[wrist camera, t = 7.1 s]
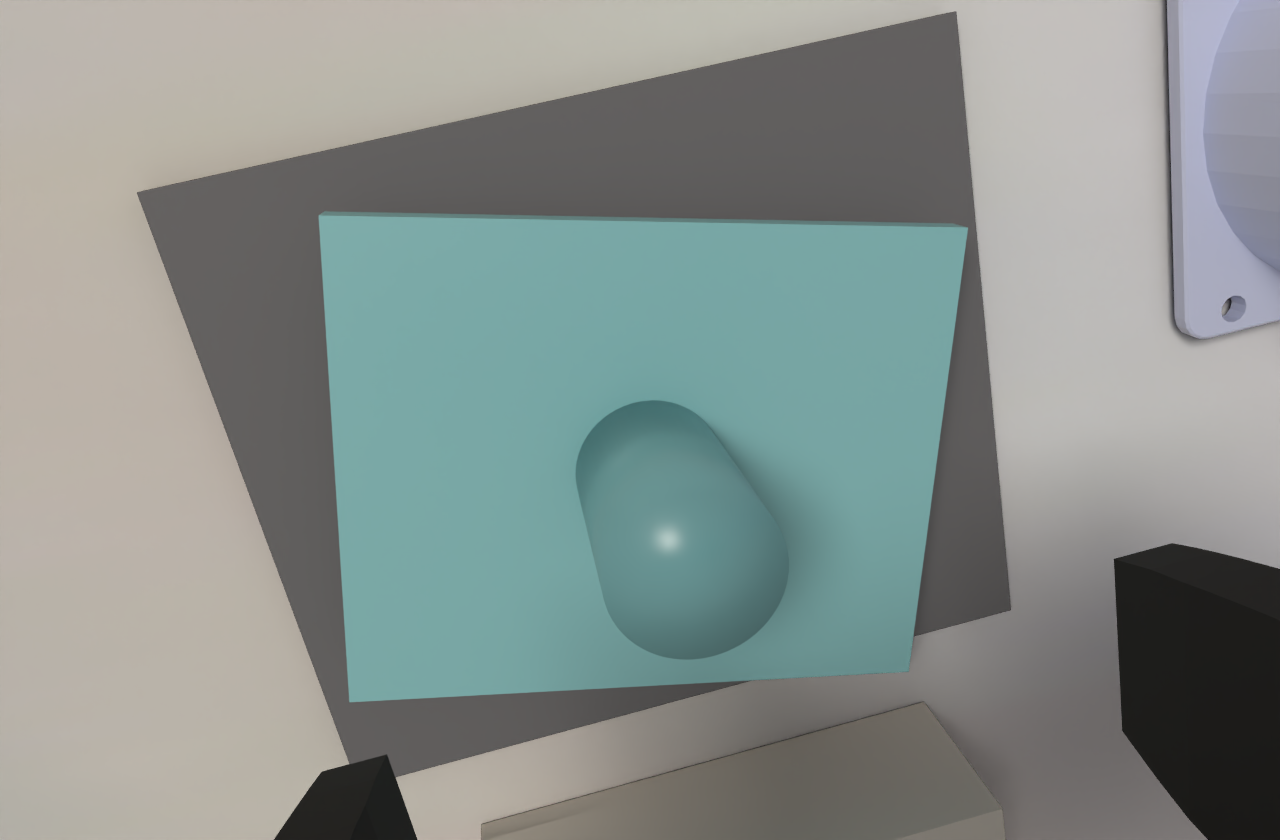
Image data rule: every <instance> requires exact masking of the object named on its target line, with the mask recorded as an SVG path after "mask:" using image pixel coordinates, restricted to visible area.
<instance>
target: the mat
mask: <svg viewBox="0 0 1280 840" xmlns="http://www.w3.org/2000/svg"><path fill="white" fill-rule="evenodd" d="M137 194H138V197H139V200H140V202H141V205H142V208H143V210H144V213H145V216H146V219H147V221H148V224H149V227H150V229H151V232H152V235H153V237H154V240H155V243H156V245H157V248H158V251H159V253H160V256H161V259H162V261H163V264H164V267H165V270H166V272H167V275H168V278H169V280H170V283H171V286H172V288H173V291H174V294H175V296H176V299H177V302H178V304H179V307H180V310H181V312H182V315H183V318H184V320H185V323H186V326H187V329H188V331H189V334H190V337H191V339H192V342H193V345H194V347H195V350H196V353H197V355H198V358H199V361H200V363H201V366H202V369H203V371H204V374H205V377H206V380H207V382H208V385H209V388H210V390H211V393H212V396H213V398H214V401H215V404H216V406H217V409H218V412H219V414H220V417H221V420H222V422H223V425H224V428H225V431H226V433H227V436H228V439H229V441H230V444H231V447H232V449H233V452H234V455H235V457H236V460H237V463H238V465H239V468H240V471H241V473H242V476H243V479H244V482H245V484H246V487H247V490H248V492H249V495H250V498H251V500H252V503H253V506H254V508H255V511H256V514H257V516H258V519H259V522H260V524H261V527H262V530H263V533H264V535H265V538H266V541H267V543H268V546H269V549H270V551H271V554H272V557H273V559H274V562H275V565H276V567H277V570H278V573H279V575H280V578H281V581H282V583H283V586H284V589H285V592H286V594H287V597H288V600H289V602H290V605H291V608H292V610H293V613H294V616H295V618H296V621H297V624H298V626H299V629H300V632H301V634H302V637H303V640H304V643H305V645H306V648H307V651H308V653H309V656H310V659H311V661H312V664H313V667H314V669H315V672H316V675H317V677H318V680H319V683H320V685H321V688H322V691H323V694H324V696H325V699H326V702H327V704H328V707H329V710H330V712H331V715H332V718H333V720H334V723H335V726H336V728H337V731H338V734H339V736H340V739H341V742H342V745H343V747H344V750H345V753H346V755H347V758H348V761H349V763H350V764H353V763H356V762H360V761H364V760H367V759H371V758H375V757H379V756H382V755H386V754H387V756H388V758H389V761H390V764H391V767H392V770H393V772H394V775H395V777H398V776H402V775H405V774H409V773H413V772H416V771H420V770H424V769H427V768H431V767H435V766H438V765H442V764H446V763H449V762H453V761H457V760H460V759H464V758H468V757H472V756H475V755H479V754H483V753H486V752H490V751H494V750H497V749H501V748H505V747H508V746H512V745H516V744H519V743H523V742H527V741H530V740H534V739H538V738H541V737H545V736H549V735H553V734H556V733H560V732H564V731H567V730H571V729H575V728H578V727H582V726H586V725H589V724H593V723H597V722H600V721H604V720H608V719H611V718H615V717H619V716H623V715H626V714H630V713H634V712H637V711H641V710H645V709H648V708H652V707H656V706H659V705H663V704H667V703H670V702H674V701H678V700H681V699H685V698H689V697H692V696H696V695H700V694H704V693H707V692H711V691H715V690H718V689H722V688H726V687H729V686H733V685H737V684H740V683H744V682H748V681H731V682H712V683H694V684H676V685H658V686H639V687H621V688H603V689H584V690H566V691H548V692H529V693H511V694H493V695H475V696H456V697H438V698H420V699H401V700H383V701H365V702H349V689H348V673H347V657H346V641H345V625H344V610H343V594H342V578H341V562H340V546H339V531H338V515H337V499H336V483H335V467H334V452H333V436H332V420H331V404H330V388H329V373H328V357H327V341H326V325H325V309H324V294H323V278H322V262H321V246H320V230H319V215H320V214H321V213H323V212H324V211H330V212H382V213H434V214H486V215H538V216H590V217H642V218H694V219H746V220H798V221H850V222H902V223H952V224H956V225H960V226H964V227H968V232H967V239H966V247H965V254H964V262H963V269H962V277H961V284H960V292H959V299H958V307H957V314H956V322H955V329H954V336H953V344H952V351H951V359H950V366H949V374H948V381H947V389H946V396H945V404H944V411H943V419H942V426H941V433H940V441H939V448H938V456H937V463H936V471H935V478H934V486H933V493H932V501H931V508H930V516H929V523H928V530H927V538H926V545H925V553H924V560H923V568H922V575H921V583H920V590H919V598H918V605H917V613H916V620H915V627H914V635H913V636H917V635H921V634H924V633H928V632H932V631H936V630H939V629H943V628H947V627H950V626H954V625H958V624H961V623H965V622H969V621H972V620H976V619H980V618H983V617H987V616H991V615H994V614H998V613H1002V612H1006V611H1009V610H1011V606H1010V595H1009V584H1008V573H1007V562H1006V551H1005V540H1004V529H1003V518H1002V507H1001V496H1000V485H999V474H998V463H997V452H996V441H995V430H994V420H993V409H992V398H991V387H990V376H989V365H988V354H987V343H986V332H985V321H984V310H983V299H982V288H981V277H980V266H979V255H978V244H977V233H976V222H975V211H974V200H973V189H972V178H971V167H970V157H969V146H968V135H967V124H966V113H965V102H964V91H963V80H962V69H961V58H960V47H959V36H958V25H957V14H956V12H950V13H945V14H941V15H936V16H932V17H927V18H923V19H918V20H914V21H909V22H905V23H900V24H896V25H891V26H887V27H882V28H878V29H873V30H868V31H864V32H859V33H855V34H850V35H846V36H841V37H837V38H832V39H828V40H823V41H819V42H814V43H810V44H805V45H801V46H796V47H792V48H787V49H783V50H778V51H774V52H769V53H764V54H760V55H755V56H751V57H746V58H742V59H737V60H733V61H728V62H724V63H719V64H715V65H710V66H706V67H701V68H697V69H692V70H688V71H683V72H679V73H674V74H669V75H665V76H660V77H656V78H651V79H647V80H642V81H638V82H633V83H629V84H624V85H620V86H615V87H611V88H606V89H602V90H597V91H593V92H588V93H584V94H579V95H574V96H570V97H565V98H561V99H556V100H552V101H547V102H543V103H538V104H534V105H529V106H525V107H520V108H516V109H511V110H507V111H502V112H498V113H493V114H489V115H484V116H480V117H475V118H470V119H466V120H461V121H457V122H452V123H448V124H443V125H439V126H434V127H430V128H425V129H421V130H416V131H412V132H407V133H403V134H398V135H394V136H389V137H385V138H380V139H375V140H371V141H366V142H362V143H357V144H353V145H348V146H344V147H339V148H335V149H330V150H326V151H321V152H317V153H312V154H308V155H303V156H299V157H294V158H290V159H285V160H281V161H276V162H271V163H267V164H262V165H258V166H253V167H249V168H244V169H240V170H235V171H231V172H226V173H222V174H217V175H213V176H208V177H204V178H199V179H195V180H190V181H186V182H181V183H176V184H172V185H167V186H163V187H158V188H154V189H149V190H145V191H141V192H137ZM749 681H751V680H749Z"/></svg>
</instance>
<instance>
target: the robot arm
mask: <svg viewBox="0 0 1280 840" xmlns="http://www.w3.org/2000/svg"><path fill="white" fill-rule="evenodd" d="M1167 22H1168V63H1169V104H1170V145H1171V186H1172V227H1173V268H1174V310H1175V321H1176V325H1177V327H1178V328H1179V329H1180V331H1181V332H1182V333H1185V334H1187V335H1189V336H1192V337H1195V338H1198V339H1209V338H1213V337H1217V336H1221V335H1225V334H1229V333H1232V332H1236V331H1240V330H1244V329H1248V328H1252V327H1256V326H1260V325H1264V324H1268V323H1272V322H1276V321H1280V0H1167ZM1230 297H1231V300H1232V303H1231V308H1230V310H1229V311H1228V312H1227V314H1226V315H1224V316H1222V313H1221V310H1222V306H1223V304H1224V303H1225V301H1226V300H1227V299H1228V298H1230ZM1114 569H1115V589H1116V610H1117V630H1118V650H1119V671H1120V691H1121V711H1122V731H1123V732H1124V734H1125V735H1126V736H1127V738H1128V739H1129V741H1130V742H1131V743H1132V745H1133V746H1134V747H1135V749H1136V750H1137V752H1138V753H1139V754H1140V756H1141V757H1142V758H1143V760H1144V761H1145V762H1146V764H1147V765H1148V767H1149V768H1150V769H1151V771H1152V772H1153V773H1154V775H1155V776H1156V778H1157V779H1158V780H1159V781H1160V783H1161V784H1162V785H1163V787H1164V788H1165V789H1166V790H1167V792H1168V793H1169V794H1170V796H1171V797H1172V798H1173V799H1174V801H1175V802H1176V803H1177V804H1178V806H1179V807H1180V808H1181V810H1182V811H1183V812H1184V813H1185V815H1186V816H1187V817H1188V818H1189V820H1190V821H1191V822H1192V823H1193V824H1194V825H1195V826H1196V827H1197V828H1198V829H1199V830H1200V831H1201V833H1202V834H1203V835H1204V836H1205V837H1206V838H1207V839H1208V840H1280V569H1278V568H1274V567H1270V566H1267V565H1263V564H1259V563H1255V562H1252V561H1248V560H1244V559H1240V558H1236V557H1232V556H1228V555H1224V554H1220V553H1216V552H1212V551H1208V550H1203V549H1199V548H1194V547H1189V546H1183V545H1178V544H1168V545H1164V546H1161V547H1157V548H1153V549H1149V550H1146V551H1142V552H1138V553H1135V554H1131V555H1127V556H1123V557H1120V558H1116V559H1114ZM274 840H417V837H416V834H415V832H414V829H413V826H412V823H411V820H410V818H409V815H408V812H407V809H406V806H405V803H404V801H403V798H402V795H401V792H400V789H399V787H398V784H397V781H396V778H395V775H394V772H393V770H392V767H391V764H390V761H389V758H388V756H387V754H386V755H382V756H379V757H375V758H371V759H367V760H364V761H360V762H356V763H353V764H349V765H345V766H341V767H338V768H334V769H330V770H326V771H323V772H321V774H320V775H319V776H318V778H317V779H316V780H315V782H314V783H313V784H312V786H311V787H310V788H309V790H308V791H307V793H306V794H305V795H304V797H303V798H302V800H301V801H300V803H299V804H298V805H297V807H296V808H295V810H294V811H293V813H292V814H291V816H290V817H289V819H288V820H287V821H286V823H285V824H284V826H283V827H282V829H281V830H280V832H279V833H278V835H277V836H276V837H275V839H274Z"/></svg>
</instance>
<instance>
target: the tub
mask: <svg viewBox="0 0 1280 840" xmlns="http://www.w3.org/2000/svg"><path fill="white" fill-rule="evenodd" d="M481 840H1006V837H1005V828H1004V818H1003V809H1002V807H1001V806H1000V805H999V803H998V802H997V801H996V799H995V798H994V796H993V795H992V794H991V792H990V791H989V790H988V788H987V787H986V786H985V784H984V783H983V781H982V780H981V779H980V777H979V776H978V775H977V773H976V772H975V771H974V769H973V768H972V767H971V765H970V764H969V762H968V761H967V760H966V758H965V757H964V756H963V754H962V753H961V752H960V750H959V749H958V747H957V746H956V745H955V743H954V742H953V741H952V739H951V738H950V737H949V735H948V734H947V732H946V731H945V730H944V728H943V727H942V726H941V724H940V723H939V722H938V720H937V719H936V718H935V716H934V715H933V713H932V712H931V711H930V709H929V708H928V707H927V705H926V704H925V703H924V702H922V703H918V704H914V705H911V706H907V707H904V708H900V709H896V710H893V711H889V712H886V713H882V714H878V715H875V716H871V717H867V718H864V719H860V720H857V721H853V722H849V723H846V724H842V725H839V726H835V727H831V728H828V729H824V730H821V731H817V732H813V733H810V734H806V735H803V736H799V737H795V738H792V739H788V740H784V741H781V742H777V743H774V744H770V745H766V746H763V747H759V748H756V749H752V750H748V751H745V752H741V753H738V754H734V755H730V756H727V757H723V758H720V759H716V760H712V761H709V762H705V763H701V764H698V765H694V766H691V767H687V768H683V769H680V770H676V771H673V772H669V773H665V774H662V775H658V776H655V777H651V778H647V779H644V780H640V781H637V782H633V783H629V784H626V785H622V786H618V787H615V788H611V789H608V790H604V791H600V792H597V793H593V794H590V795H586V796H582V797H579V798H575V799H572V800H568V801H564V802H561V803H557V804H554V805H550V806H546V807H543V808H539V809H535V810H532V811H528V812H525V813H521V814H517V815H514V816H510V817H507V818H503V819H499V820H496V821H492V822H489V823H485V824H481Z"/></svg>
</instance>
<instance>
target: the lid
mask: <svg viewBox="0 0 1280 840" xmlns="http://www.w3.org/2000/svg"><path fill="white" fill-rule="evenodd" d="M319 230H320V246H321V262H322V278H323V294H324V309H325V325H326V341H327V357H328V373H329V388H330V404H331V420H332V436H333V452H334V467H335V483H336V499H337V515H338V531H339V546H340V562H341V578H342V594H343V610H344V625H345V641H346V657H347V673H348V689H349V702H365V701H383V700H401V699H420V698H438V697H456V696H475V695H493V694H511V693H529V692H548V691H566V690H584V689H603V688H621V687H639V686H658V685H676V684H694V683H712V682H731V681H749V680H767V679H786V678H804V677H822V676H841V675H859V674H877V673H895V672H909V665H910V657H911V650H912V642H913V635H914V627H915V620H916V613H917V605H918V598H919V590H920V583H921V575H922V568H923V560H924V553H925V545H926V538H927V530H928V523H929V516H930V508H931V501H932V493H933V486H934V478H935V471H936V463H937V456H938V448H939V441H940V433H941V426H942V419H943V411H944V404H945V396H946V389H947V381H948V374H949V366H950V359H951V351H952V344H953V336H954V329H955V322H956V314H957V307H958V299H959V292H960V284H961V277H962V269H963V262H964V254H965V247H966V239H967V232H968V227H964V226H960V225H956V224H952V223H902V222H850V221H798V220H746V219H694V218H642V217H590V216H538V215H486V214H434V213H382V212H330V211H324V212H323V213H321V214H320V215H319Z"/></svg>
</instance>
